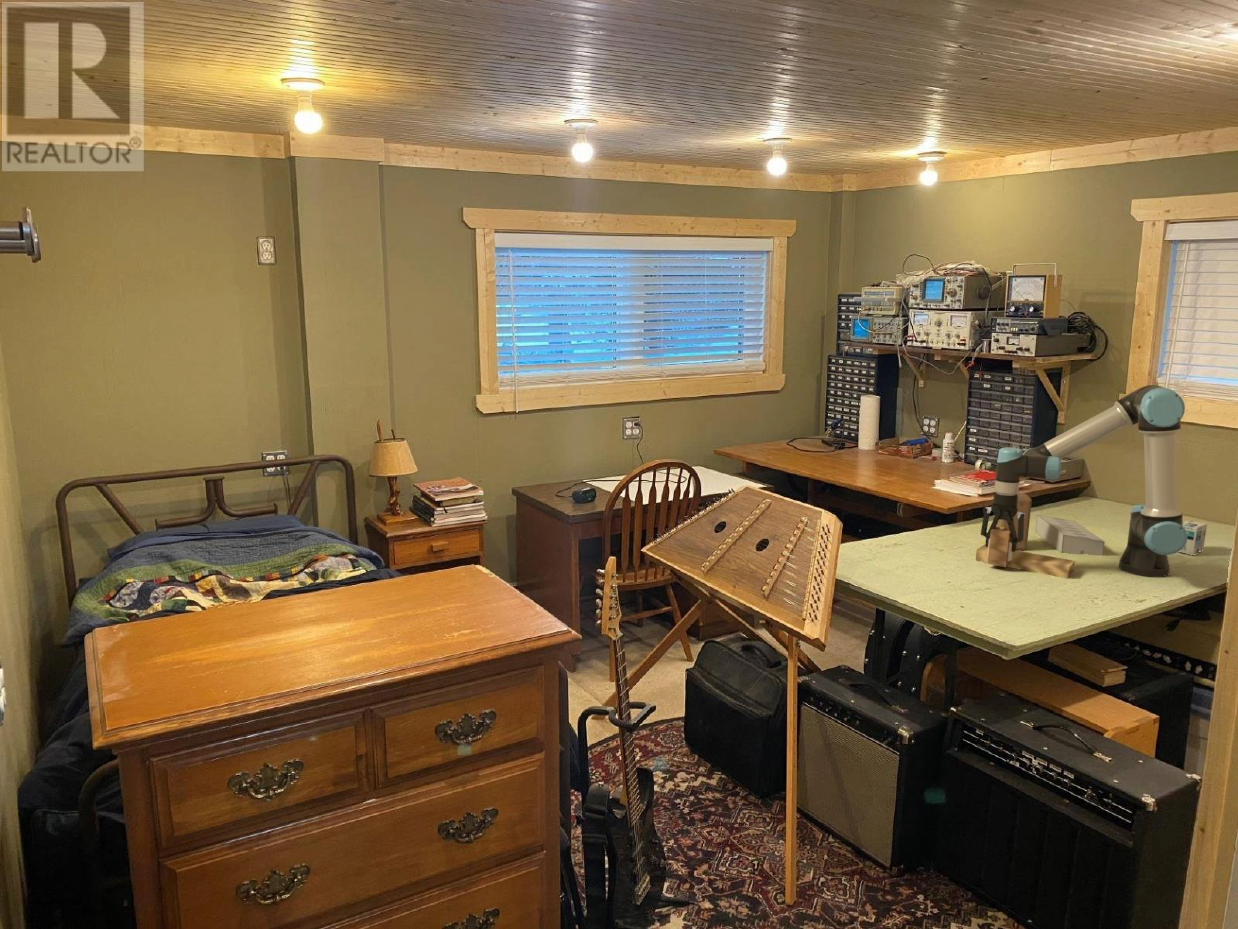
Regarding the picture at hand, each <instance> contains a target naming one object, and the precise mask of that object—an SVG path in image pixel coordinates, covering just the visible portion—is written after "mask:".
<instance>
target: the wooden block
mask: <svg viewBox="0 0 1238 929" xmlns="http://www.w3.org/2000/svg"><path fill="white" fill-rule="evenodd" d="M1017 495H1018V501H1017V509H1018V511H1019V512H1022V513H1026V516H1025V518H1024V536H1023V541H1021V542H1017V547H1016V550H1018V551H1025V550H1027V548H1028V539H1029V529H1030V520H1031V512H1032V502H1033V501H1032V500H1033V499H1032V498H1031V497H1030V496H1029V495H1028V494H1027V493H1025V492H1018V493H1017ZM1013 520H1014V526H1015V530H1016V535H1017V538H1018V520H1019V518H1018V515H1017V514H1016V515H1015V516H1014V517H1013ZM1000 526H1005V527H1006V529H1009V526H1008V523H1007V521H1006V520H1003V519H1002V520H1000V519H999V521H998V523H997V525H996V527H1000Z"/></svg>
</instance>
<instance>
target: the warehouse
mask: <svg viewBox="0 0 1238 929" xmlns="http://www.w3.org/2000/svg"><path fill="white" fill-rule="evenodd" d="M1035 533H1036V534H1037V535H1038V534H1039V535H1038V536H1040V537H1041V538H1042V537H1043V538H1044V540H1045V541H1046V542H1047V543H1048V544H1049V545H1050V546H1052V548H1054V549H1055V548H1056V549H1055V550H1056V551H1058V552H1059V551H1060V552H1061V553H1066V554H1065V555H1083V554H1088V555H1087V556H1101V555H1103V556H1104V550H1105V541H1104V540H1103V539H1101V538H1100V537H1099V536H1097V535H1095V534H1094V533H1093V532H1091V531H1090V530H1088V529H1087V528H1085V527H1084V526H1083V525H1081V524H1080V523H1078V522H1077V521H1075V520H1072V519H1071V520H1069V519H1064V518H1059V517H1058V518H1057V517H1051V516H1046V515H1040V514H1036V522H1035ZM1043 538H1042V539H1043ZM1060 552H1059V553H1060ZM1067 553H1068V554H1067Z"/></svg>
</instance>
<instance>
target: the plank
mask: <svg viewBox="0 0 1238 929" xmlns="http://www.w3.org/2000/svg"><path fill="white" fill-rule="evenodd" d="M985 544H986V543H984V544H983V545H982V546H980V547H979V548H977V549H976V551H975V553H976V554H975V561H976V562H980V561H982V562H981V563H985V562H986V564H987V563H988V557H987V554H988V547H986V546H985ZM1075 566H1076V560H1073V559H1066V558H1061V557H1057V556H1056V557H1055V556H1051V555H1050V556H1049V555H1044V554H1040V553H1033V552H1028V551H1024V550H1016V551H1015V552H1013V555H1012V560H1011V563H1010V564H1009V565H1008V566H1007V567H1008V568H1011V569H1012V568H1013V569H1016V568H1020V569H1019V570H1022V569H1024V570H1023V571H1028V572H1034V573H1037V572H1040V573H1039V574H1042V573H1043V574H1044V575H1048V576H1049V575H1050V576H1053V575H1056V576H1055V577H1058V576H1060V577H1059V578H1063V577H1064V578H1065V579H1069V576H1070V575H1071V576H1072V575H1073V574H1074V573H1073V572H1075V569H1076V568H1075ZM1071 576H1070V577H1071Z"/></svg>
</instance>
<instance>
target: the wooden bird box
mask: <svg viewBox="0 0 1238 929" xmlns="http://www.w3.org/2000/svg"><path fill="white" fill-rule="evenodd" d="M1010 534H1011V532H1010V531H1009V529H1006V527H1005V526H1000V527H995V528H994V529H992V530H991V533H990V543H989V553H988V563H986V564H987V565H992V566H998V567H1002V568H1006V567H1007V566H1008V565H1009V564H1010V563H1011V561H1008V552H1009V543H1010V542H1011V541H1012V539H1011V535H1010Z"/></svg>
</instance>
